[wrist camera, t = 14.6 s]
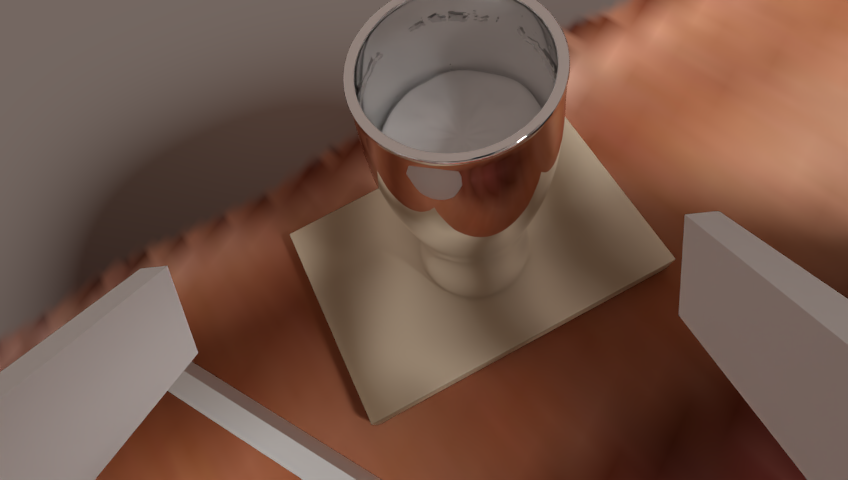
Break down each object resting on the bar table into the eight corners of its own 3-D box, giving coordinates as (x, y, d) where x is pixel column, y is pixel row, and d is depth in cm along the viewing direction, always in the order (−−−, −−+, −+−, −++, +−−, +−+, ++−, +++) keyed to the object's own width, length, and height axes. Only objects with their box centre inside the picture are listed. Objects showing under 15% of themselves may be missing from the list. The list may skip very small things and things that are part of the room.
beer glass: (558, 219, 28) (618, 9, 14) (502, 328, 26) (510, 210, 13) (448, 172, 30) (408, -52, 16) (390, 271, 28) (290, 114, 15)
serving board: (549, 113, 33) (551, 99, 31) (666, 267, 28) (675, 258, 27) (298, 243, 32) (289, 234, 30) (377, 425, 27) (371, 424, 26)
